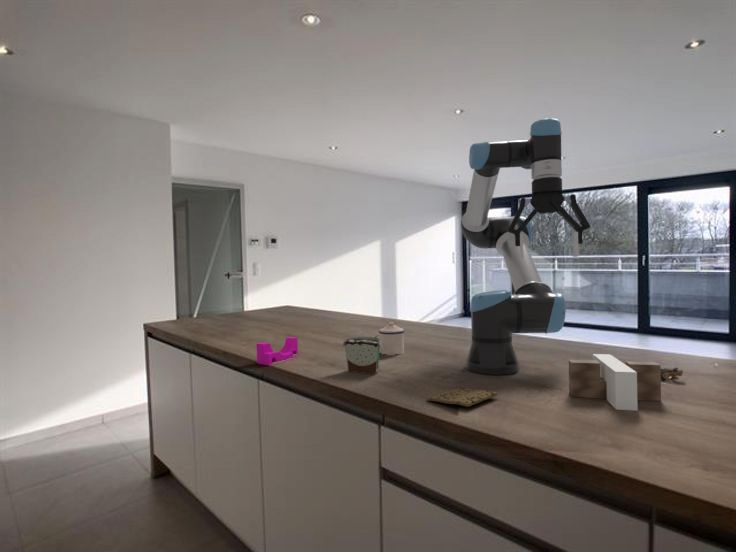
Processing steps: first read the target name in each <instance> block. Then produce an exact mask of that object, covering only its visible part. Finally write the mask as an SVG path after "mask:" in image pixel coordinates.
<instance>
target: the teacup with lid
mask: <svg viewBox="0 0 736 552" xmlns="http://www.w3.org/2000/svg"><path fill="white" fill-rule="evenodd" d="M387 323H388V324H387V325H385V326H384V327H382V328H379V329H378V333H376V334H375V335H374V336H373V337H374V338H378V337H379V339H380V341H381V345H382V347H381V348H380V349H379V354H380V353H382V354H381V355H383V354H387V355H386V356H396V355H395V354H401V353H403V354H404V353H405V341H404V340H405V339H404V337H405V336H404V333H405V330H404V328H402V327H399V326H397V325H395V323H394V322H391V321H390V322H387ZM401 355H402V354H401Z"/></svg>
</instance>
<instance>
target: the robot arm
mask: <svg viewBox="0 0 736 552" xmlns="http://www.w3.org/2000/svg"><path fill="white" fill-rule="evenodd" d="M561 127H562V126H561V122H560V120H559V119H558V118H552V117H551V118H542V119H539V120H536V121H534V122H533V123H532V124H531V125H530V131H529V135H530V138H529V139H524V140H522V139H521V140H507V141H483V142H477V143H476V142H475V143H473V144H472V145H471V146H470V148H469V155H468V163H469V167H470V169H471V170H473V173H472V179H471V186H470V190H469V195H468V201H467V205H466V211H465V213H464V214H463V215H462V217H461V221H460V228H461V232H462V235H463V237H464V238H465V239H466V241H467V242H468V243H470V244H471V245H472V246H474V247H476V248H479V249H484V250H485V249H495V250H496V251H497V253H498V254H499V255H500V256H502V257H503V259H504V262H505V265H506V268H507V272H508V274H509V277H510V281H511V283H512V286H513V289H514V292H513V293H512V291H511V290H510V289H499V290H498V289H497V290H490V291H484V292H480V293H476V294H474V295H472V297H471V299H470V300H471V301H470V315H471V316H470V321H471V328H470V329H471V345H470V347H469V351H468V353H467V357H466V361H465V362H466V363H465V365H466V369H467V370H468V371H470V372H472V373H476V374H483V375H493V376H494V375H495V376H496V375H497V376H498V375H499V376H500V375H501V376H502V375H511V374H515V373H518V372H519V371H520V361H519V358H518V356H517V353H516V351H515V347H514V345H513V334H546V335H547V334H553V333H554V334H555V333H558V332H560V331H561V330H562V329H563V327H564V325H565V319H566V313H567V312H566V309H567V307H566V299H565V297H564V295H563V294H562V293H558V292H555V293H553V291H552V289H551V287H550V286H549V285H548V284H546V283H544V282H543V281H542V278H541V276H540V273H539V271H538V269H537V267H536V264H535V262H534V259H533V258H532V254H531V252H530V249H529V246H530V245H531V243H532V239H533V231H532V229H531V228H532V226H531V223H530V222H531V221H532V219H533V218H534V217H535V216H536V214H540V215H545V214H550V215H552V214H554V213H557V214H558V215H559V216H560V217H561V218H562V219H563V220H564V221H565V222H567V224H568V225H569V226H570V227H571V228H572V229H573V230H574V231H573V232H572V258H576V257H579V245H581V244H582V243H583V232H584V231H586V230H588V229H590V228H591V224H590V223H589V221H588V220H587V217H586V216H585V215H584V212H583V211H582V209H581V207H580V206H579V204H578V202H577V197H576V194H574V193H573V194H570V195H567V196H564V194H563V178H562V177H561V176H563V173H562V169H563V168H562V167H563V166H562V135H563V133H562V128H561ZM503 168H505V169H506V168H522V169H524V170H531V179H532V181H531V197H530V198H525V197H522V198H520V200H519V206H518V209H517V211H516V213H515V215H512V216H500V217H499V216H496V217H493V216H491V217H488V216H489V212H490V208H491V204H492V201H493V196H494V193H495V190H496V189H495V188H496V184H497V181H498V177H499V173H500V169H503ZM564 202H566V204H567V205H569V206H570V208H571V210H572V212H573V213H574V215H575V216H576V219H577V220H578V222H579V223H580V224H579V223H578V222H577V221H576V220H575V219H574V218H573V217H572V216H571V215H570V214H569V213H568V212H567V211H566V210H565V208H564V207H563V206H562V204H563V203H564ZM529 204H530V206H532V207H533V209H532V211H531V212H530V213H529V214H528V216H526V217H525V216H521V215H522V213H523V211H524V209H525V208H526V207H527V206H528V205H529Z"/></svg>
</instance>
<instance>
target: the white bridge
mask: <svg viewBox="0 0 736 552" xmlns="http://www.w3.org/2000/svg"><path fill="white" fill-rule="evenodd" d="M592 360H596V361H598V362H599V363H600V378H602V379H603V380H605V381H606V385H607V399H606V401H607V402H608V403H609V404H610V405H611V406H612V407H613V408H614V409H615V410H618V411H621V410H623V411H634V412H635V411H636V412H638V400H637V372H636V371H634V370H633V369H631V368H630V367H628V366H627V365H625V362H622V361H621V360H620V359H618V358H616V357H615V356H614V355H612V354H609V353H608V354H607V353H606V354H603V353H602V354H601V353H600V354H599V353H592Z"/></svg>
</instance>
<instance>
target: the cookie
mask: <svg viewBox="0 0 736 552" xmlns="http://www.w3.org/2000/svg"><path fill="white" fill-rule="evenodd" d="M498 394H499V393H498V392H497V391H493V390H488V389H486V390H485V389H483V390H482V389H481V390H480V389H471V388H467V387H459V388H458V387H456V388H453V389H449V390H447V391H444V392H442V393H438V394H436V395H433V396H429V397H426V401H429V402H430V401H431V402H438V403H442V404H443V403H444V404H450V405H460V406H462V407H463V406H464V407H471V406H474V405H476V404H479V403H481V402H484V401H486V400H488V399H491V398H493V397H496V396H498Z"/></svg>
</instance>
